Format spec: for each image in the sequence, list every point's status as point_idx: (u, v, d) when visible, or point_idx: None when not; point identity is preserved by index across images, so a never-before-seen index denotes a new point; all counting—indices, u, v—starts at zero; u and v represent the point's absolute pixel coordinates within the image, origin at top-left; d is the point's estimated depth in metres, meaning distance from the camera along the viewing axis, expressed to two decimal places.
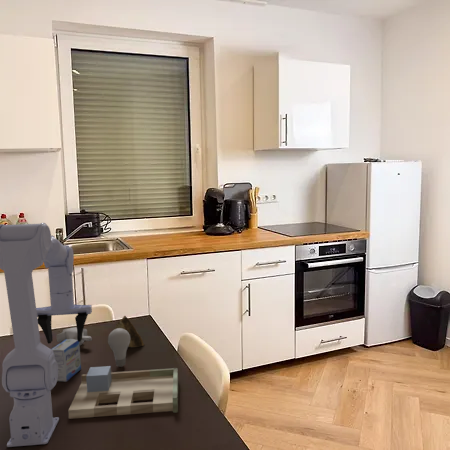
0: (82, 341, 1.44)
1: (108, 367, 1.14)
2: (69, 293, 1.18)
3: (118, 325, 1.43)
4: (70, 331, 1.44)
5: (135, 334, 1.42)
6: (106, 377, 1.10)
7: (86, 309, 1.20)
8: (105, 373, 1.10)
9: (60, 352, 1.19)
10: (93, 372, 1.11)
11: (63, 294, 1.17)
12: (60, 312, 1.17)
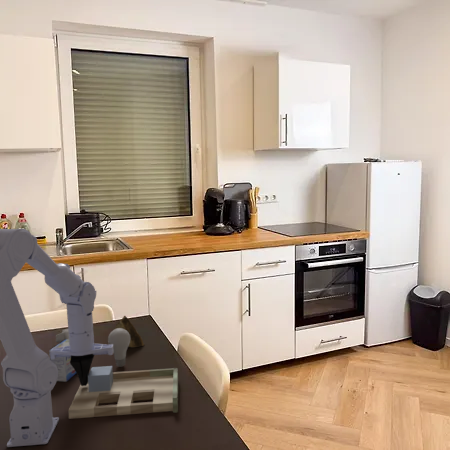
0: None
1: (110, 367, 1.14)
2: (89, 333, 1.09)
3: (118, 325, 1.43)
4: None
5: (135, 334, 1.42)
6: (108, 377, 1.10)
7: (108, 350, 1.10)
8: (107, 373, 1.10)
9: None
10: (94, 371, 1.11)
11: (84, 334, 1.08)
12: (80, 354, 1.08)
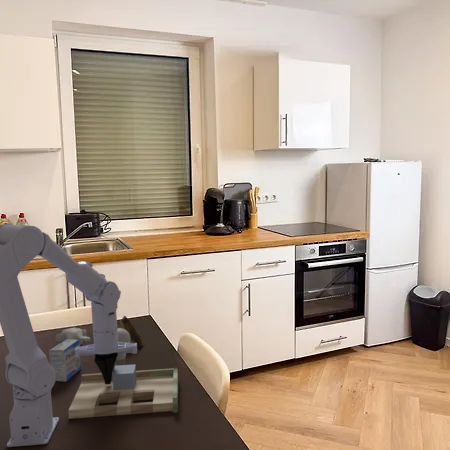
0: (81, 342, 1.44)
1: (133, 365, 1.14)
2: (114, 331, 1.09)
3: (118, 325, 1.43)
4: (69, 331, 1.44)
5: (135, 334, 1.42)
6: (132, 375, 1.10)
7: (131, 348, 1.11)
8: (131, 371, 1.11)
9: (60, 352, 1.19)
10: (118, 370, 1.12)
11: (108, 333, 1.08)
12: (105, 352, 1.08)
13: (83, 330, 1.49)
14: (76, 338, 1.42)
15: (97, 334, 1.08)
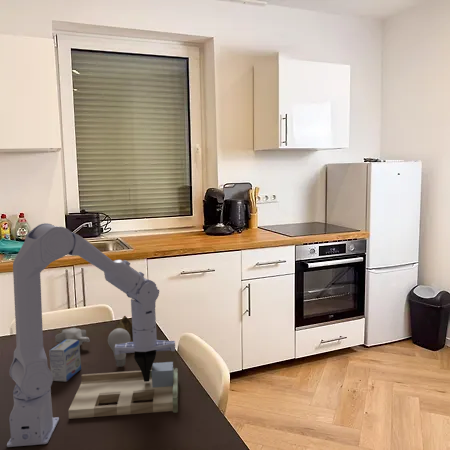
0: (80, 342, 1.44)
1: (171, 362, 1.15)
2: (153, 329, 1.10)
3: (118, 325, 1.43)
4: (68, 332, 1.43)
5: None
6: (171, 372, 1.11)
7: (170, 346, 1.12)
8: (169, 369, 1.12)
9: (60, 352, 1.19)
10: (157, 367, 1.13)
11: (148, 330, 1.09)
12: (144, 350, 1.09)
13: (83, 330, 1.49)
14: (75, 338, 1.42)
15: (137, 332, 1.09)
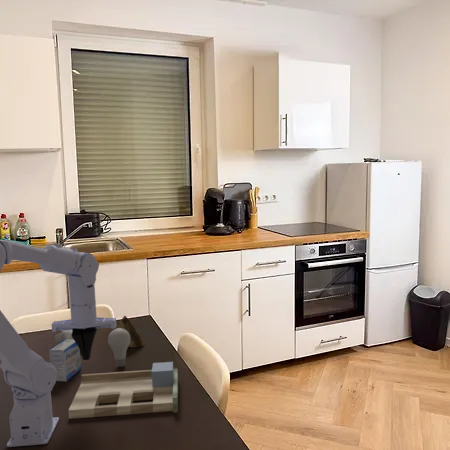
0: None
1: (171, 362, 1.15)
2: (92, 305, 1.06)
3: (118, 325, 1.43)
4: (68, 332, 1.43)
5: (135, 334, 1.42)
6: (171, 372, 1.11)
7: (110, 323, 1.07)
8: (169, 369, 1.12)
9: (60, 352, 1.19)
10: (157, 367, 1.13)
11: (85, 306, 1.05)
12: (82, 327, 1.05)
13: None
14: None
15: (74, 307, 1.05)
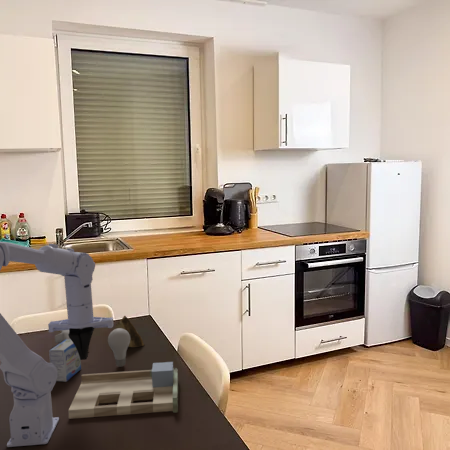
0: None
1: (171, 362, 1.15)
2: (88, 305, 1.06)
3: (118, 325, 1.43)
4: (67, 332, 1.43)
5: (135, 334, 1.42)
6: (171, 372, 1.11)
7: (107, 323, 1.07)
8: (169, 369, 1.12)
9: (60, 352, 1.19)
10: (157, 367, 1.13)
11: (82, 306, 1.05)
12: (79, 327, 1.05)
13: None
14: None
15: (71, 308, 1.04)
